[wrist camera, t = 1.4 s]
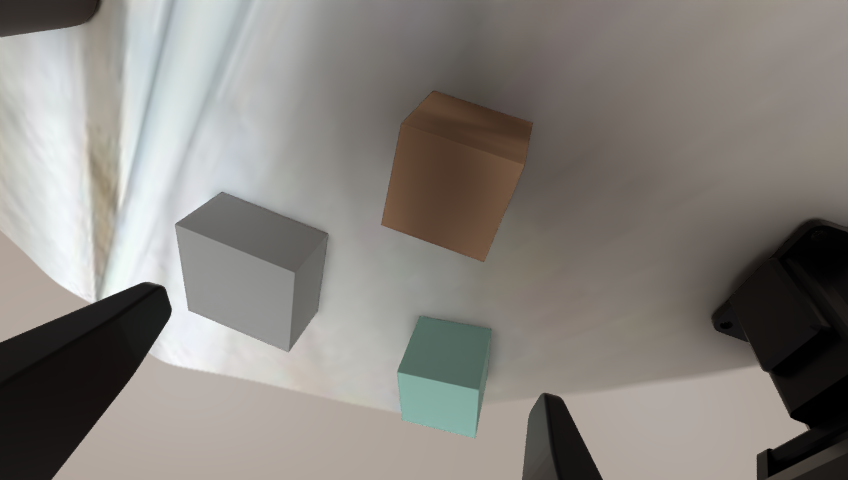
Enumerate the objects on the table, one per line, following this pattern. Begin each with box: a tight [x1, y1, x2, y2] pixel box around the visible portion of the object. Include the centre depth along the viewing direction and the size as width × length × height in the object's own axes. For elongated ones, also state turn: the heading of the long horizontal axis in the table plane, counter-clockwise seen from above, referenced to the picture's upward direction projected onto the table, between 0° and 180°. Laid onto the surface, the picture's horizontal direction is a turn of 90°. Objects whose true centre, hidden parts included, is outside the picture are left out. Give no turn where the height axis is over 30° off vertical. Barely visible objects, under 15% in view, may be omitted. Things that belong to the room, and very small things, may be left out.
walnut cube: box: [381, 91, 533, 262], centre depth 17 cm, size 4×4×4 cm
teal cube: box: [397, 316, 491, 438], centre depth 25 cm, size 4×4×4 cm
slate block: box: [175, 192, 328, 352], centre depth 25 cm, size 7×7×4 cm
